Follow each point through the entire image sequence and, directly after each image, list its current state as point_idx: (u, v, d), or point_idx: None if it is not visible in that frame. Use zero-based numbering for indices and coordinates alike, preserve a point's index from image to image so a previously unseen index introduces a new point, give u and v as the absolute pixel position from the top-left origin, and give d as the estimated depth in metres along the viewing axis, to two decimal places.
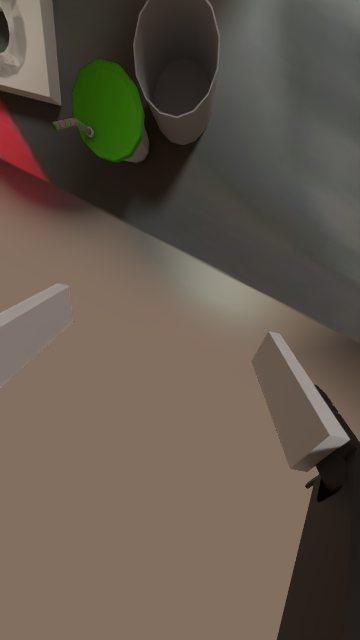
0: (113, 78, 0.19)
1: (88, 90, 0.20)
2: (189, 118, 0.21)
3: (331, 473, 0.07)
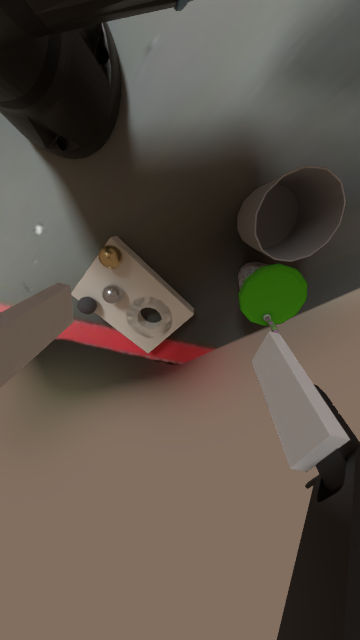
0: (262, 278, 0.22)
1: (250, 300, 0.23)
2: None
3: (331, 473, 0.07)
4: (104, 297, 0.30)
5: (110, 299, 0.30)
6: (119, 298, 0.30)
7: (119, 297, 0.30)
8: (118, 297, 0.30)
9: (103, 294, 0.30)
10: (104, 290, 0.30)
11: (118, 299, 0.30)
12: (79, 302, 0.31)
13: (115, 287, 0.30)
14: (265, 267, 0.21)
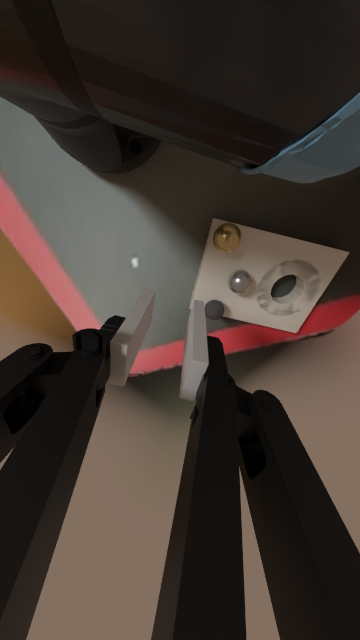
0: None
1: None
2: None
3: (199, 400, 0.08)
4: (236, 288, 0.24)
5: (245, 286, 0.24)
6: None
7: (251, 279, 0.24)
8: (250, 280, 0.24)
9: (233, 285, 0.25)
10: (232, 280, 0.24)
11: (251, 282, 0.25)
12: (207, 309, 0.27)
13: (242, 271, 0.24)
14: None
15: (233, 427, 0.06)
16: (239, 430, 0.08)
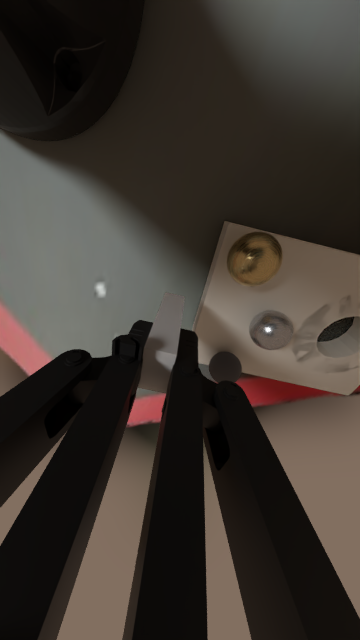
0: None
1: None
2: None
3: (167, 393, 0.08)
4: (266, 344, 0.14)
5: (282, 343, 0.14)
6: (293, 332, 0.14)
7: (293, 330, 0.14)
8: (292, 331, 0.14)
9: (261, 340, 0.14)
10: (260, 331, 0.14)
11: (292, 334, 0.14)
12: (215, 371, 0.17)
13: (278, 315, 0.14)
14: None
15: (198, 415, 0.06)
16: (205, 420, 0.08)
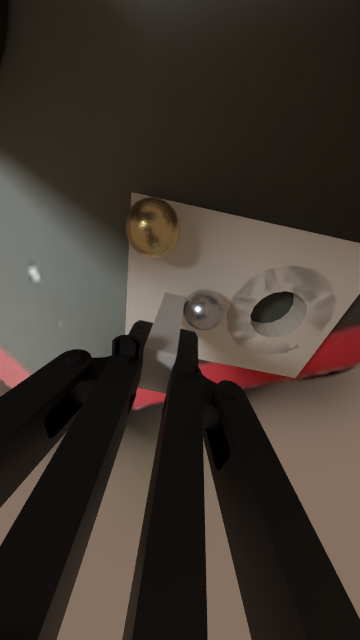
0: None
1: None
2: None
3: (167, 392, 0.08)
4: (205, 327, 0.14)
5: (219, 321, 0.14)
6: None
7: (223, 304, 0.14)
8: None
9: (200, 324, 0.13)
10: (197, 316, 0.13)
11: None
12: None
13: (209, 295, 0.13)
14: None
15: (198, 415, 0.06)
16: (205, 420, 0.08)
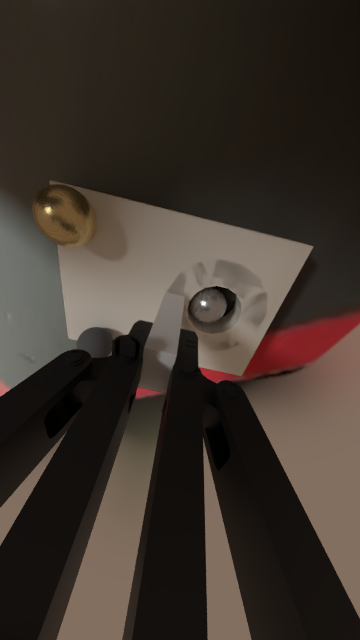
0: None
1: None
2: None
3: (167, 392, 0.08)
4: None
5: (193, 297, 0.16)
6: (208, 294, 0.15)
7: (207, 291, 0.15)
8: (204, 290, 0.16)
9: None
10: None
11: (205, 294, 0.15)
12: (77, 345, 0.16)
13: None
14: None
15: (198, 415, 0.06)
16: (205, 420, 0.08)
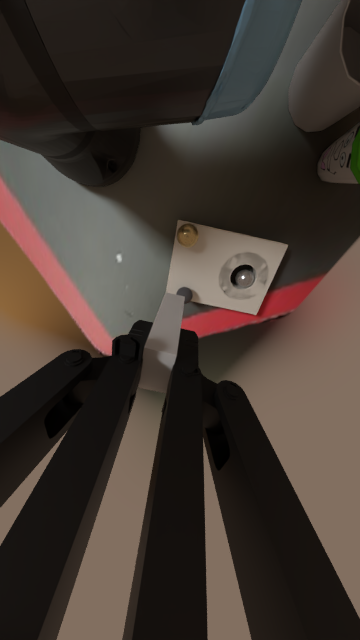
0: None
1: None
2: None
3: (167, 392, 0.08)
4: (236, 280, 0.34)
5: (241, 277, 0.33)
6: (249, 275, 0.32)
7: (248, 273, 0.32)
8: (247, 273, 0.32)
9: (235, 279, 0.34)
10: None
11: (248, 275, 0.32)
12: None
13: None
14: None
15: (198, 415, 0.06)
16: (205, 420, 0.08)
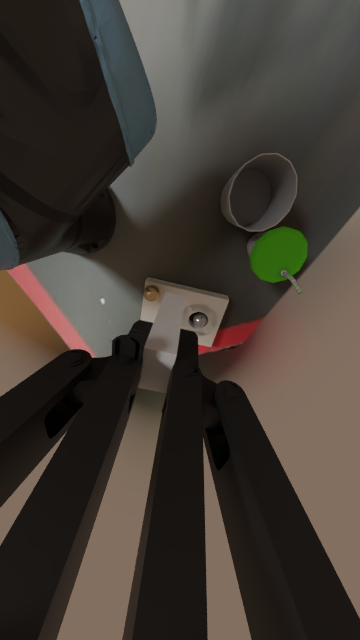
0: (262, 248, 0.27)
1: (263, 268, 0.28)
2: None
3: (167, 392, 0.08)
4: (193, 322, 0.43)
5: (195, 320, 0.42)
6: (201, 319, 0.42)
7: (201, 317, 0.42)
8: (199, 317, 0.42)
9: None
10: (193, 318, 0.44)
11: (200, 319, 0.42)
12: None
13: None
14: (259, 239, 0.26)
15: (198, 415, 0.06)
16: (205, 420, 0.08)
